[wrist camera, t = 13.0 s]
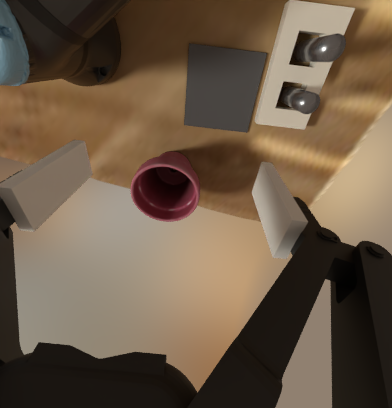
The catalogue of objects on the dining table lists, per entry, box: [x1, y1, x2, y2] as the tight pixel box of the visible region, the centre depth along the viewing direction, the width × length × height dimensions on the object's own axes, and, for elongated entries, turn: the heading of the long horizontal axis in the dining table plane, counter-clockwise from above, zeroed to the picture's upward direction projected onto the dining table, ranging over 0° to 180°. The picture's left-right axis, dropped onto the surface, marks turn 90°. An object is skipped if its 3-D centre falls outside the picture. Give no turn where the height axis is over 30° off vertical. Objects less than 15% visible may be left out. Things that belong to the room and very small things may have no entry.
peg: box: [293, 33, 346, 62], centre depth 31 cm, size 3×3×11 cm
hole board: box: [254, 0, 355, 129], centre depth 36 cm, size 10×18×2 cm, turn 174°
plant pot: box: [131, 151, 200, 222], centre depth 45 cm, size 14×14×13 cm
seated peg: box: [279, 86, 320, 114], centre depth 35 cm, size 3×3×11 cm
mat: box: [184, 43, 267, 132], centre depth 39 cm, size 14×14×1 cm
